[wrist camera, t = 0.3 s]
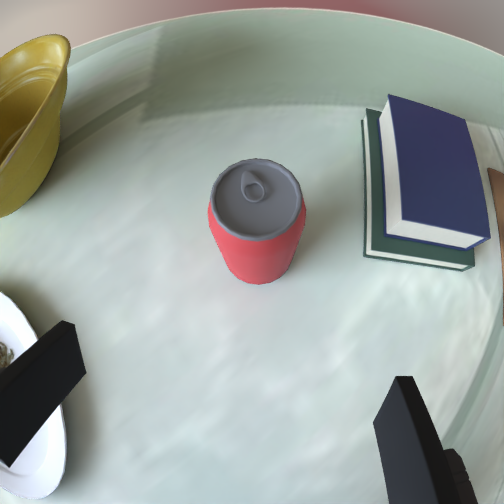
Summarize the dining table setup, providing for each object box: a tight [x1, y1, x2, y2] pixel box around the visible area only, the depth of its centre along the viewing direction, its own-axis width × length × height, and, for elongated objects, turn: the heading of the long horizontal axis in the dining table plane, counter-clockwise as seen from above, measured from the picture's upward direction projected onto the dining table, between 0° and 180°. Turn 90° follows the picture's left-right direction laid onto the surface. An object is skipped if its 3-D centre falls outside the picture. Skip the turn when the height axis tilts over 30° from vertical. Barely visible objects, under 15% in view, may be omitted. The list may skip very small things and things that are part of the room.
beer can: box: [208, 158, 306, 285], centre depth 24 cm, size 7×7×12 cm
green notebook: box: [361, 108, 475, 272], centre depth 30 cm, size 18×13×2 cm
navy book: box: [377, 94, 491, 251], centre depth 26 cm, size 15×10×4 cm
